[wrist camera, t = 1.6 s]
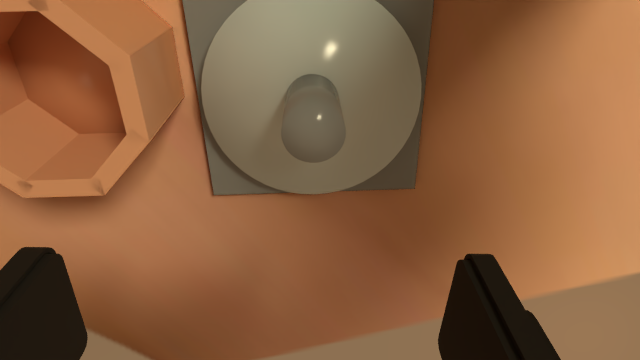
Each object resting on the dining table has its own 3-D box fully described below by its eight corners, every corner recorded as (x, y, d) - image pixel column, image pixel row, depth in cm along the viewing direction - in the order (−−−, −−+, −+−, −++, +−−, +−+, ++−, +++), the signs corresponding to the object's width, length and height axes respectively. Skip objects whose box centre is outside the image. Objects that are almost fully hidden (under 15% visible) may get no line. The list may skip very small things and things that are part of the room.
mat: (434, -35, 24) (437, -35, 23) (412, 184, 31) (414, 188, 30) (180, -30, 24) (177, -29, 23) (215, 190, 31) (213, 195, 30)
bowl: (162, -30, 24) (113, -19, 18) (192, 139, 29) (161, 193, 22) (-24, -25, 24) (-139, -12, 17) (38, 143, 28) (-34, 200, 22)
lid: (427, -24, 24) (463, -13, 18) (408, 182, 30) (430, 236, 25) (188, -19, 24) (153, -6, 18) (220, 188, 30) (201, 243, 24)
